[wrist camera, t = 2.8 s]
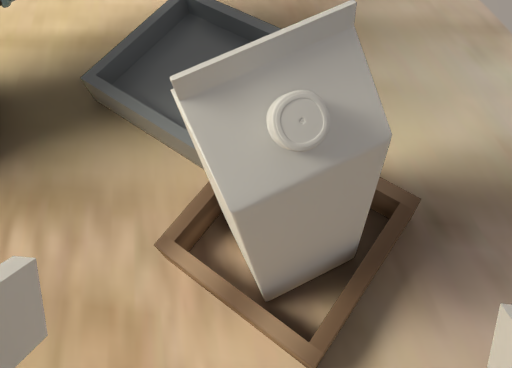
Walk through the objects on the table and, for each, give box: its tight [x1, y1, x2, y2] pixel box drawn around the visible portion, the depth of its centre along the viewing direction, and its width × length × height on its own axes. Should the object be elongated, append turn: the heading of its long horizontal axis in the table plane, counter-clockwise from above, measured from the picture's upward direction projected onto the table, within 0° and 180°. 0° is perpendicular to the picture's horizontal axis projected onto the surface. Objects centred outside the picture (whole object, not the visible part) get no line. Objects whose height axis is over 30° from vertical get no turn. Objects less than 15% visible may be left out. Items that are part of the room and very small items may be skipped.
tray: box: [80, 0, 281, 169], centre depth 38 cm, size 14×14×3 cm
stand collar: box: [154, 177, 421, 368], centre depth 30 cm, size 13×13×3 cm
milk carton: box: [170, 0, 392, 302], centre depth 23 cm, size 7×7×19 cm
